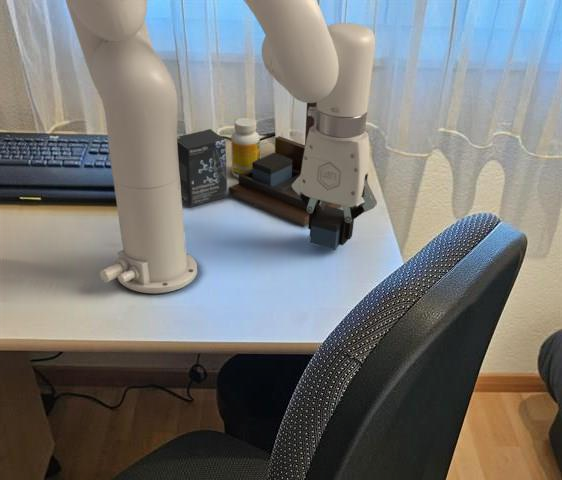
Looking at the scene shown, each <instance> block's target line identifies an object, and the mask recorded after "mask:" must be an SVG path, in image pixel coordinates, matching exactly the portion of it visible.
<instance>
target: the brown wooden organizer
mask: <svg viewBox="0 0 562 480" xmlns="http://www.w3.org/2000/svg"><path fill="white" fill-rule="evenodd" d="M304 150H305V144H303V143H299V142H297V141H294V140H291V139H288V138H286V137H283V136H280V135H279V136H276V137H274V153H276V154H279V155H282V156H285V157H287V158H290V159H292V178H290V179H288V180H286V181H284V182H282V183H280V184H278V185H276V186H274V187H273V186H270V185H268V184H265V183H263V182H260V181H258V180H255V179H253V178H252V170H249V171H247V172H245V173H243V174H240V175H239V178H238V182H237V183H235V184H233V185H231V186H229V187H228V196H229V197H233V198H235V199H237V200H240V201H242V202H245V203H246V204H249V205H252V206H254V207H256V208H259V209H261V210H264V211H266V212H267V213H268V212H269V213H271V214H273V215H275V216H278V217H280V218H283V219H285V220H287V221H290V222H293V223H294V224H297V225H300V226H302V227H306V226H308V224H309V212H308V211H307V207H306V205H305V204H304V202H303V201H302V200H301V198H300V195H298V194H297V193H296V192H295V191H294V190H293V188H292V184H293V183H294V181H295V180H296V179H297V178H298V177H299V176H300V174H301V168H302V161H303V155H304ZM326 206H329V207H333V208H337V209H340V208H341V207H343V206H342V205H338V204H334V203H330V202H326V201H322V200H321V203H320V207H322V209H324V208H325V207H326Z"/></svg>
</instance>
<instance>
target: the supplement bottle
mask: <svg viewBox="0 0 562 480" xmlns="http://www.w3.org/2000/svg"><path fill="white" fill-rule="evenodd" d="M233 127H234V128H233V129H234V132H232V133H231V137H230V143H231V144H230V146H231V147H230V148H231V173H232V175H233V176H234V177H236V178H238V179H239V175H240V174H243V173H245V172H247V171H249V170H252V162H254V161H256V160H259V159H261V138H260V137H261V136H260V135H259V133H258V131H256V130H257V121H256V120H255V119H253V118H249V117H240V118H237V119H235V121H234V126H233Z"/></svg>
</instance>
